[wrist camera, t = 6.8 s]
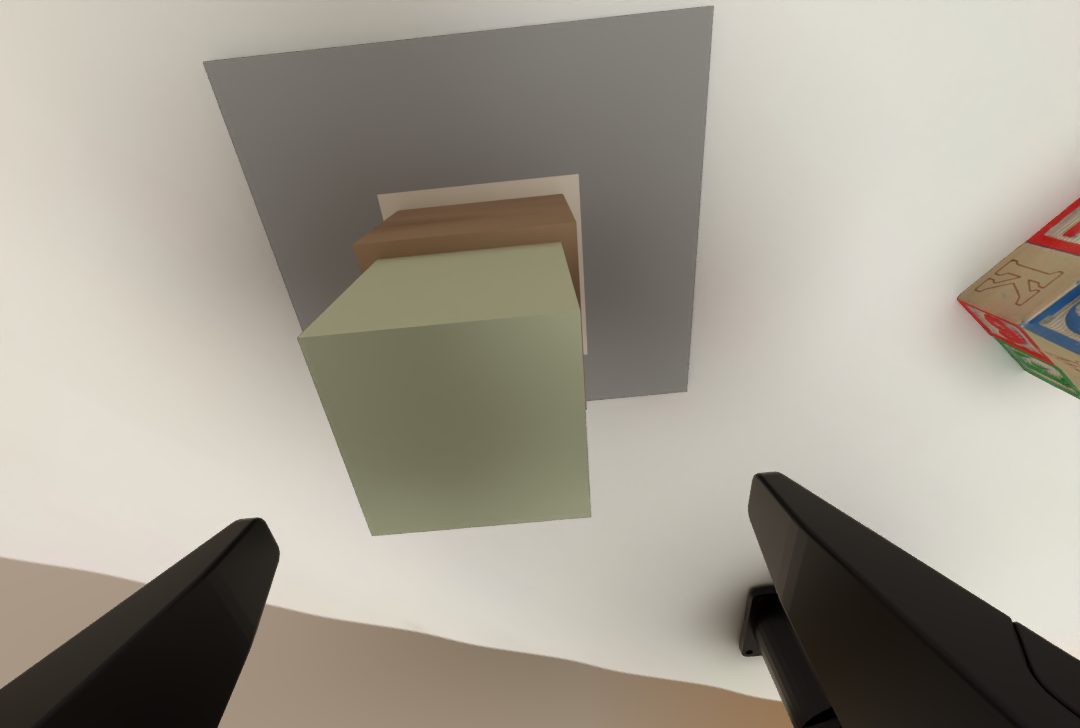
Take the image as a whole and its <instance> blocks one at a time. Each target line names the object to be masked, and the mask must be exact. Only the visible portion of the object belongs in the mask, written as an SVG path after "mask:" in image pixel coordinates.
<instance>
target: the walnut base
mask: <svg viewBox="0 0 1080 728" xmlns="http://www.w3.org/2000/svg"><path fill="white" fill-rule="evenodd" d="M560 241H561V244H562V247H563V251H564V254H565V258H566V262H567V265H568V269H569V272H570V276H571V279H572V283H573V287H574V290H575V294H576V297H577V301H578V304H579V308H580V314H581V297H580V278H579V260H578V241H577V223H576V220H575V218H574V216H573V214H572V212H571V210H570V207H569V205H568V203H567V201H566V199H565V197H564V195H563V194H554V195H545V196H535V197H525V198H515V199H506V200H496V201H486V202H476V203H467V204H457V205H447V206H437V207H428V208H418V209H408V210H398V211H397V212H395V213H394V214H393V215H391V216H390V217H389V218H387V219H386V220H385V221H383V222H382V223H381V224H379V225H378V226H377V227H375V228H374V229H373V230H371V231H370V232H369V233H367V234H366V235H365V236H363V237H362V238H361V239H359V240H358V241H357V242H355V243H354V244H353V245H352V246H353V249H354V253H355V256H356V259H357V263H358V266H359V270H360V273H361V275H362V274H363V273H364V272H365V271H366V270H367V269H368V268H369V267H370V266H371V265H372V264H373V263H374V262H375V261H376V260H377V259H387V258H397V257H408V256H418V255H428V254H438V253H448V252H459V251H469V250H479V249H489V248H499V247H510V246H520V245H530V244H540V243H550V242H560ZM581 333H582V315H581ZM582 352H583V334H582ZM583 371H584V352H583ZM584 390H585V409H586V410H587V408H586V389H585V371H584Z"/></svg>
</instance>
